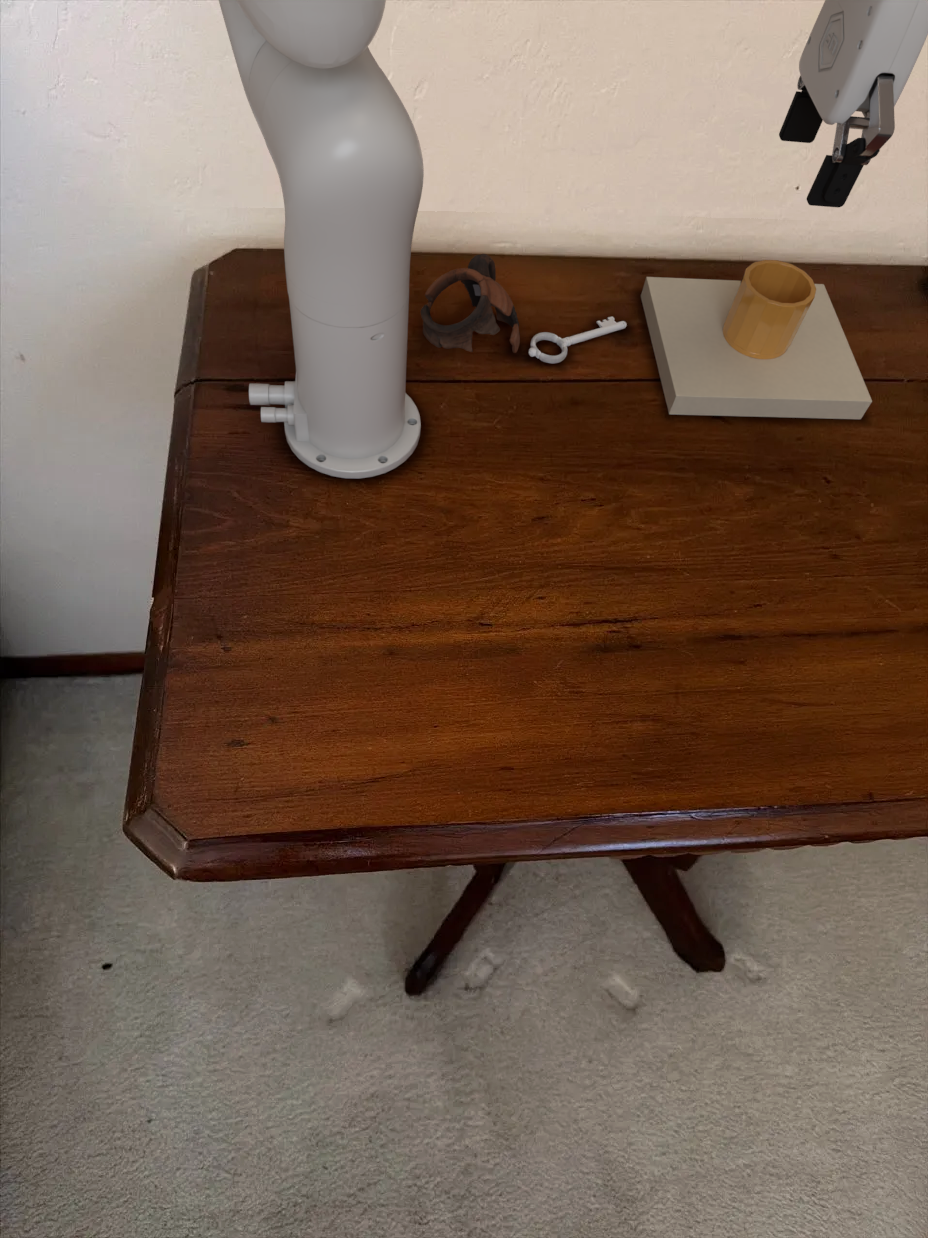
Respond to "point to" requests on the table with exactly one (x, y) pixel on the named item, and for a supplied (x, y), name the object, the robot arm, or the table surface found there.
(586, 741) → the table surface
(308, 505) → the table surface
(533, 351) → the key
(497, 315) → the brown grey ring-shaped piece
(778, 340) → the cup
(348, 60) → the robot arm
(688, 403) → the board
